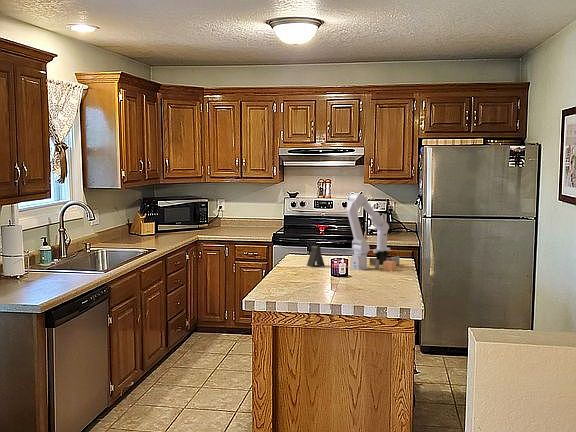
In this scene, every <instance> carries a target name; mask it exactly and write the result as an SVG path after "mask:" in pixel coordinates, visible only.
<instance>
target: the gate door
mask: <svg viewBox="0 0 576 432" xmlns="http://www.w3.org/2000/svg"><path fill="white" fill-rule="evenodd" d="M375 260H377V258H376V257H370V258H369V259H368V261H369V266H375ZM386 261H392V258H391V257H387V258H386ZM379 266H383V264H381V265H380V264H379Z"/></svg>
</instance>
